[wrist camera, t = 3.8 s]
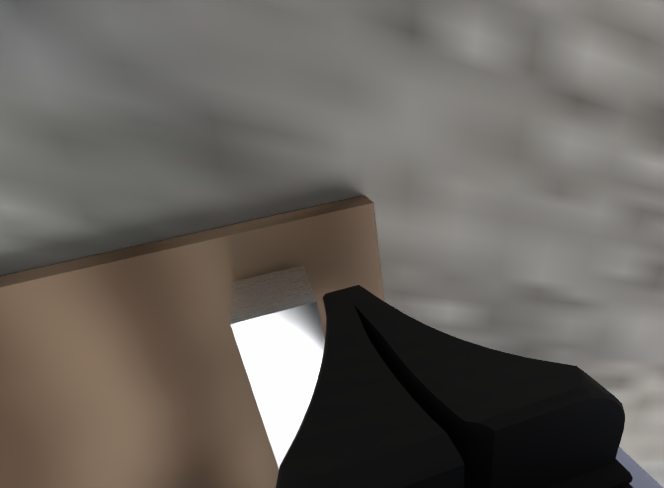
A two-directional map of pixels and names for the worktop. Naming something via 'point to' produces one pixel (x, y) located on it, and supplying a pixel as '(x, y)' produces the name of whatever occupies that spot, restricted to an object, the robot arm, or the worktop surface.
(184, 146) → the worktop surface
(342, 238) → the board
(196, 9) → the worktop surface
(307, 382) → the link
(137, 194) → the worktop surface
